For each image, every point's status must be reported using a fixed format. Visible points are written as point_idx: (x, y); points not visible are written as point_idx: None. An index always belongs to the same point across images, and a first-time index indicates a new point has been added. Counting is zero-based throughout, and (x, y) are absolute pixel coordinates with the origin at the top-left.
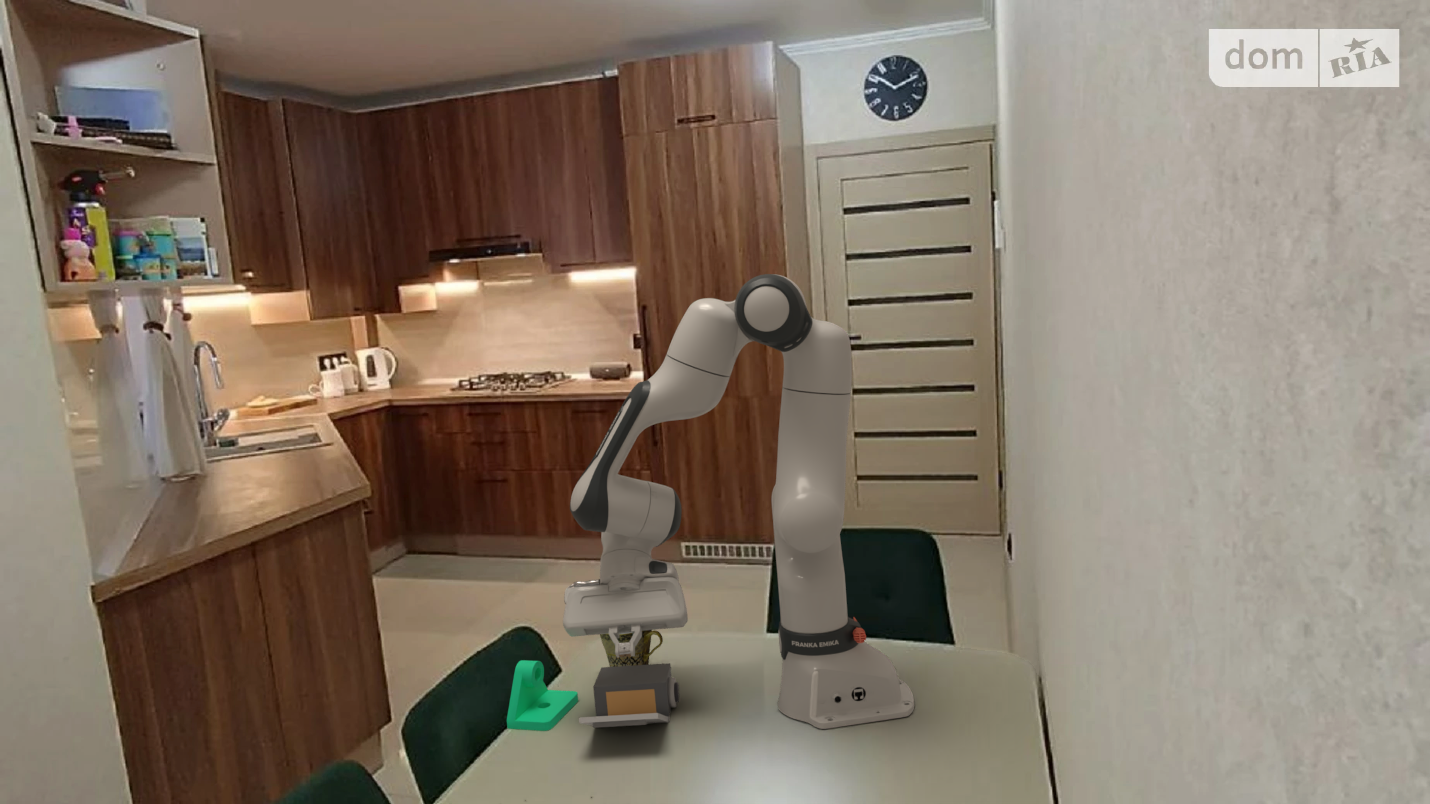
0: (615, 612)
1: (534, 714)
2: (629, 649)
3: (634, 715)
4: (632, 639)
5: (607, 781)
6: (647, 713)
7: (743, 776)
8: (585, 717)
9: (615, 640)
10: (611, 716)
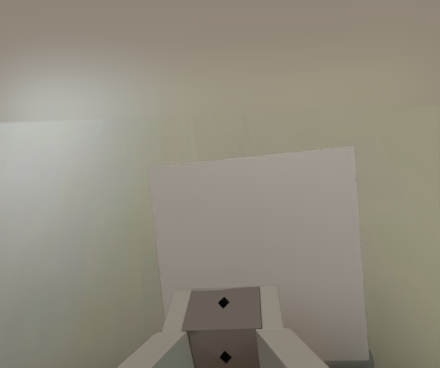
0: None
1: None
2: (193, 293)
3: (205, 162)
4: (161, 344)
5: (267, 143)
6: (172, 164)
7: (60, 159)
8: (335, 148)
9: (285, 345)
10: (264, 156)
